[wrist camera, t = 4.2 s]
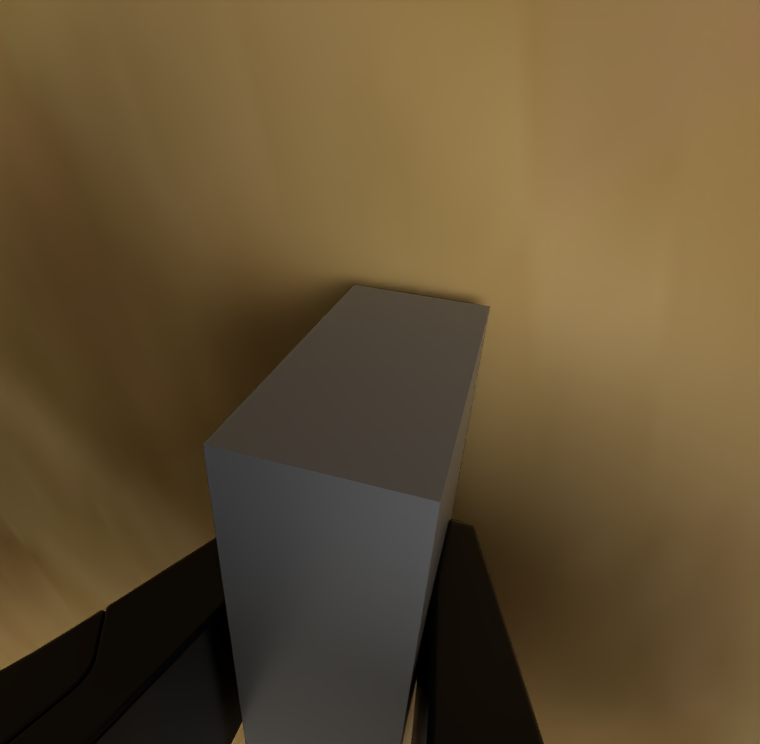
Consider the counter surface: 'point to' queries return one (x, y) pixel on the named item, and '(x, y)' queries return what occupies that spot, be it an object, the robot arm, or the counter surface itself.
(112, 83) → the counter surface
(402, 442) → the grey t-shaped bar
